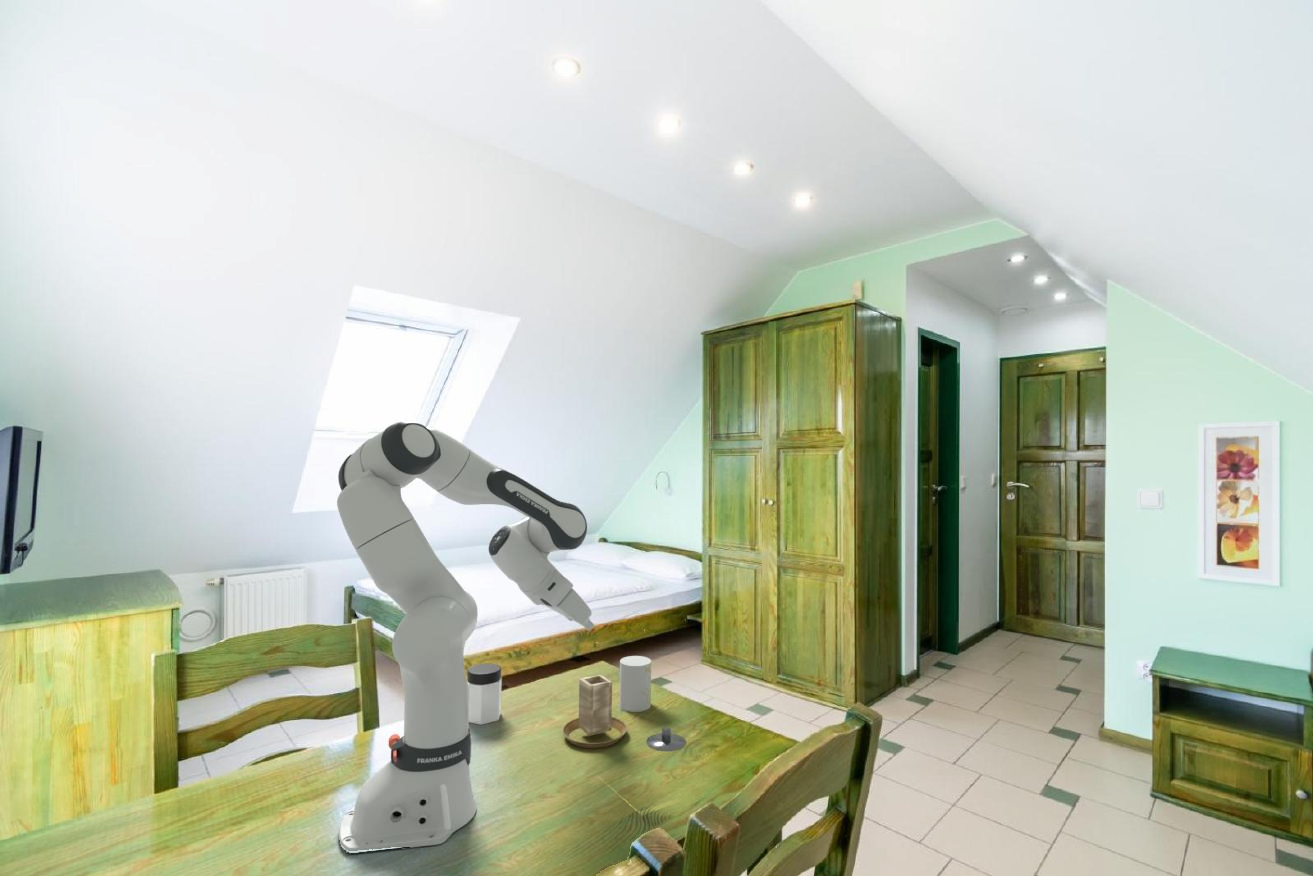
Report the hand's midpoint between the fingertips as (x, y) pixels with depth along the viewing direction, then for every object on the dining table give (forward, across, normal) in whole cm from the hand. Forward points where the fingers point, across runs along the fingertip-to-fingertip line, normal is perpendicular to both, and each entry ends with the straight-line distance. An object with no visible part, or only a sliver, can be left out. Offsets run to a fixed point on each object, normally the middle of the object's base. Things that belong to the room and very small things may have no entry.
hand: (581, 622), depth 148 cm
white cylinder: (+31, -5, -5) cm, 32 cm away
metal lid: (+28, +16, -8) cm, 33 cm away
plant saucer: (+20, +5, -17) cm, 27 cm away
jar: (+7, -20, -30) cm, 36 cm away
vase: (+18, +5, -15) cm, 24 cm away
